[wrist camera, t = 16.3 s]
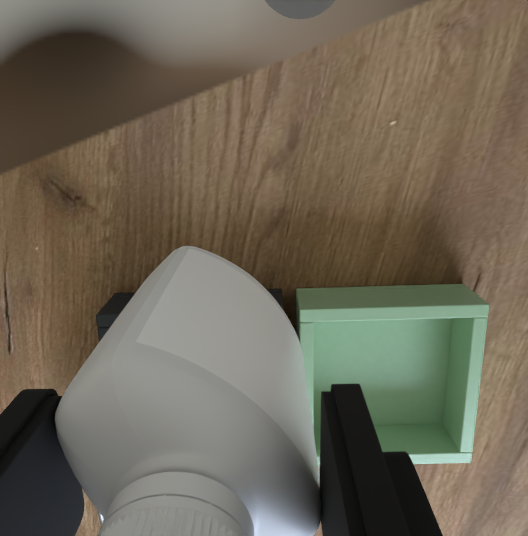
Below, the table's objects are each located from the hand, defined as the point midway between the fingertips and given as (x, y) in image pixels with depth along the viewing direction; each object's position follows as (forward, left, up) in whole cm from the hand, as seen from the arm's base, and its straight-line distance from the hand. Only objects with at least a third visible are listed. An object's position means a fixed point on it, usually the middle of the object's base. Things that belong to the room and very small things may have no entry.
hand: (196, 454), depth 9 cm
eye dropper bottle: (0, 0, -7) cm, 7 cm away
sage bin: (+9, +8, -20) cm, 24 cm away
